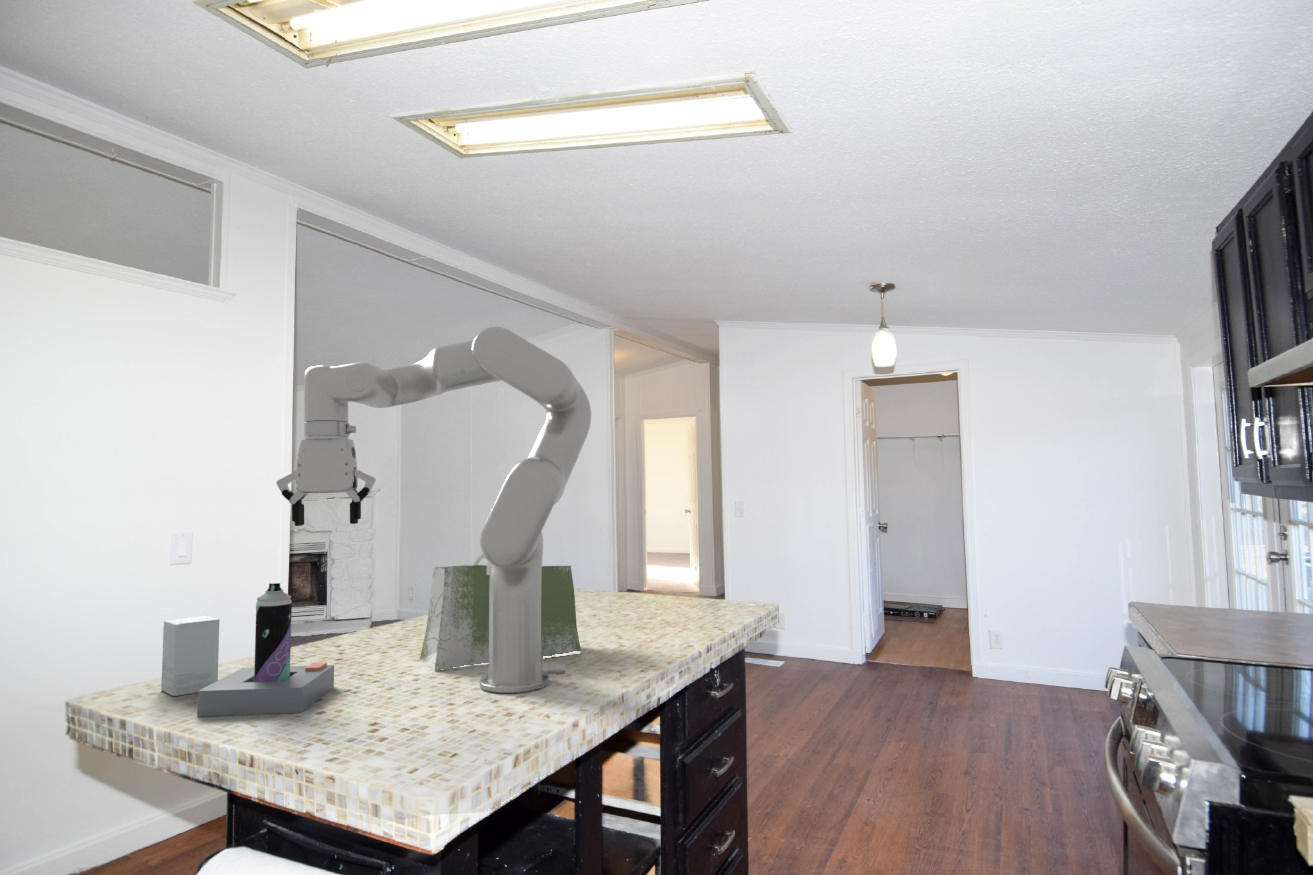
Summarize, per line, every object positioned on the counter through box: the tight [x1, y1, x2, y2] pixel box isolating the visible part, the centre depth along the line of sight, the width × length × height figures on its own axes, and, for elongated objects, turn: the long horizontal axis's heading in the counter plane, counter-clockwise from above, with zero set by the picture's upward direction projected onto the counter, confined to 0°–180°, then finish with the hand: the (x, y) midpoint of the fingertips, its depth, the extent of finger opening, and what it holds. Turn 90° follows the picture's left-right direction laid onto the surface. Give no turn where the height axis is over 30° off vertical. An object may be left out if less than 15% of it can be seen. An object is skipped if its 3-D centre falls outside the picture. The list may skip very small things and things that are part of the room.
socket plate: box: [196, 661, 335, 717], centre depth 129 cm, size 16×16×5 cm
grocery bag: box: [419, 553, 582, 670], centre depth 162 cm, size 32×14×23 cm, turn 118°
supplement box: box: [160, 615, 220, 697], centre depth 137 cm, size 7×7×13 cm
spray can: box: [254, 582, 293, 682], centre depth 129 cm, size 6×6×20 cm
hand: (326, 524), depth 139 cm, fingers open, 9 cm apart
